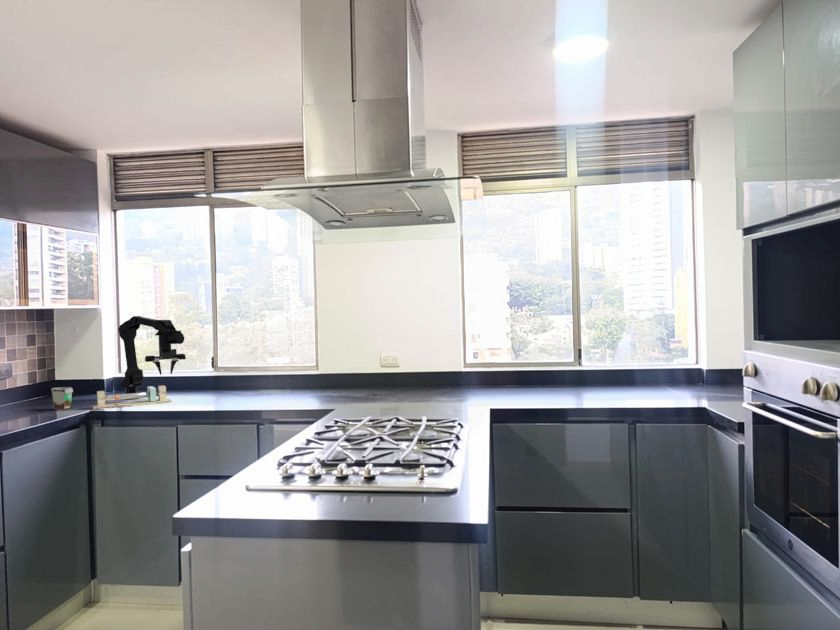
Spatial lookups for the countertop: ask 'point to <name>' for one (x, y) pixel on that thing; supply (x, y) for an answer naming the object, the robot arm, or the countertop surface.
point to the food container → (62, 398)
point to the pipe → (128, 396)
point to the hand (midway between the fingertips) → (166, 374)
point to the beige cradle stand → (102, 404)
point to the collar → (152, 393)
